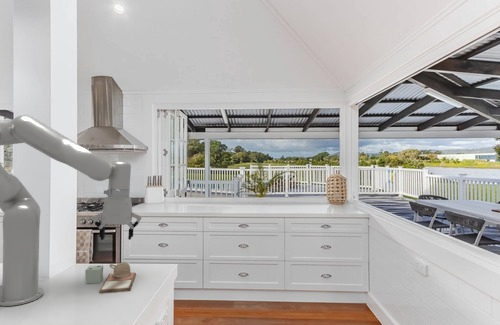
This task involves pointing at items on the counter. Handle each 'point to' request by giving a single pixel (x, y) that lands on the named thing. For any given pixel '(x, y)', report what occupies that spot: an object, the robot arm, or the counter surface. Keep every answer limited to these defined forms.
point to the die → (94, 274)
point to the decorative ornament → (121, 270)
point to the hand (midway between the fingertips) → (116, 239)
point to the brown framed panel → (117, 283)
